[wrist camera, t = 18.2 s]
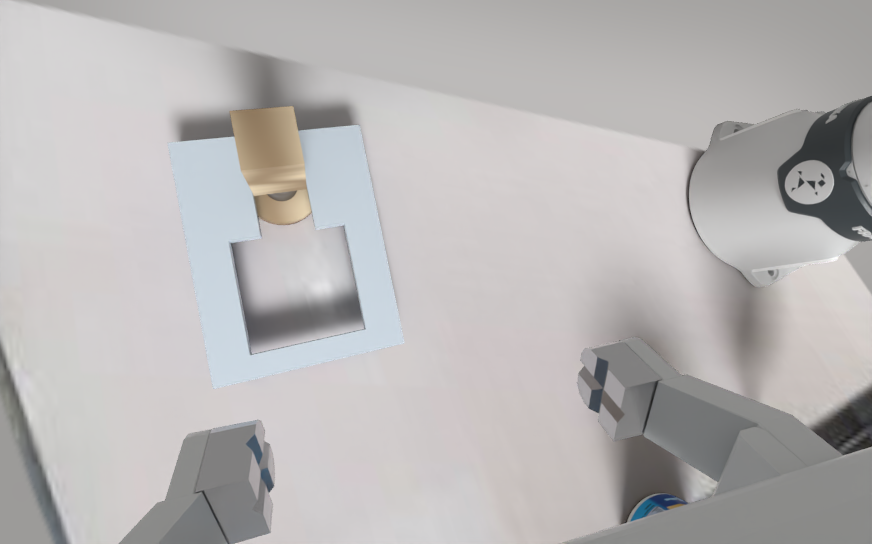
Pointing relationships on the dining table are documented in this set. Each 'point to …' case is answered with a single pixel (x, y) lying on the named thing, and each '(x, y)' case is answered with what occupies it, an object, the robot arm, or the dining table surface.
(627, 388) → the robot arm
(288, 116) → the beech peg
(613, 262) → the dining table surface
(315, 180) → the keyhole plate
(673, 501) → the beverage bottle
